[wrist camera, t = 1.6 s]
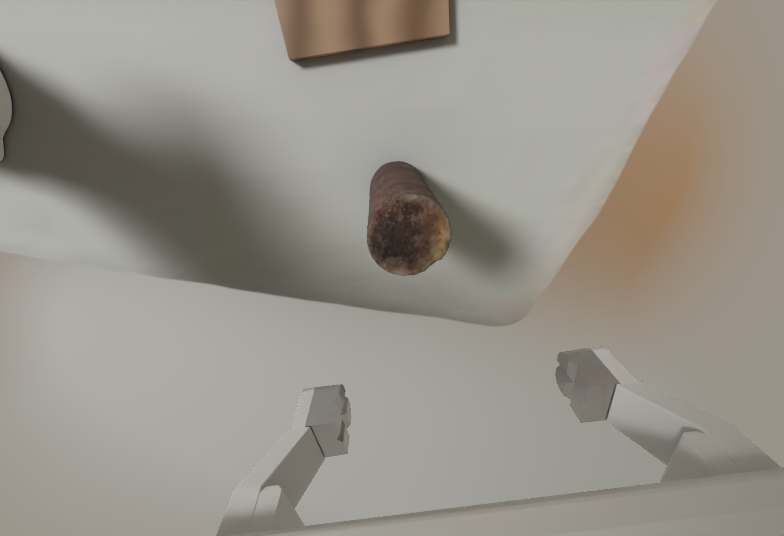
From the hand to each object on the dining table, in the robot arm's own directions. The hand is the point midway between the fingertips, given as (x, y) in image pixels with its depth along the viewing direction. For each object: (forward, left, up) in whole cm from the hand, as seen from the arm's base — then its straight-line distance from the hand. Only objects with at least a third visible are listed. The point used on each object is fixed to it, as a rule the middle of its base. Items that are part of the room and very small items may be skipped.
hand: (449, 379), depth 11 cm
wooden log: (0, -1, -35) cm, 35 cm away
